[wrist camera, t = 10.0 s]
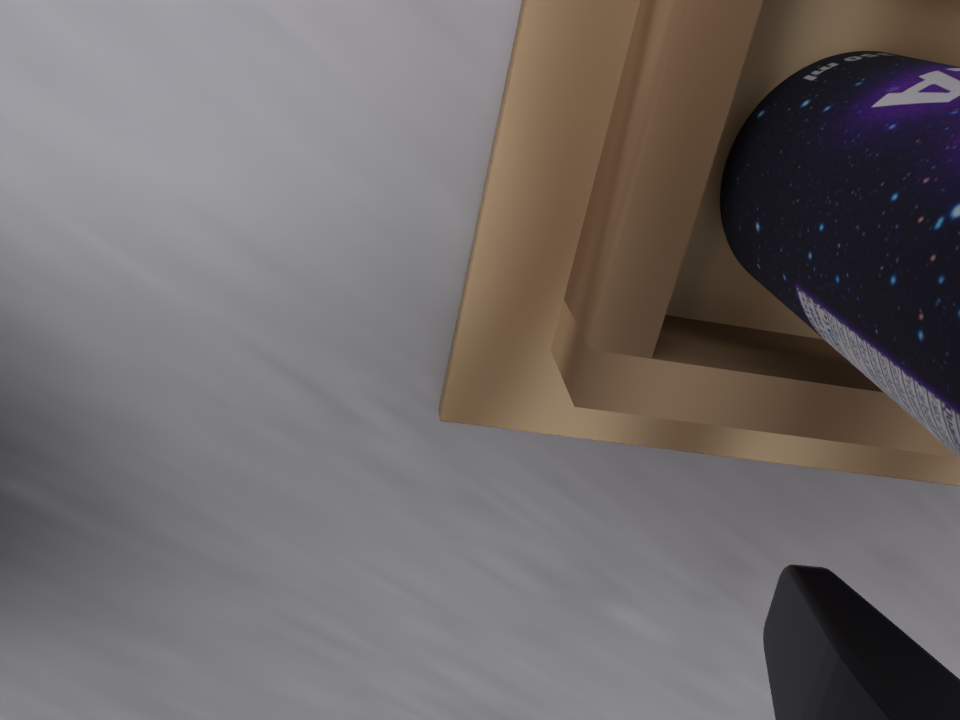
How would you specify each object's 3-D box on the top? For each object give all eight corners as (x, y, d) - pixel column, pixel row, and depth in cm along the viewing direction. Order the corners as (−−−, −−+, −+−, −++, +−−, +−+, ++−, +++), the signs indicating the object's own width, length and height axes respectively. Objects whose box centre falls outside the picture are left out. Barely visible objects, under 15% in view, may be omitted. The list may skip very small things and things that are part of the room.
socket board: (438, 409, 23) (448, 485, 19) (588, -326, 16) (640, -394, 13) (965, 476, 25) (1050, 553, 22) (1273, -126, 19) (1457, -142, 16)
